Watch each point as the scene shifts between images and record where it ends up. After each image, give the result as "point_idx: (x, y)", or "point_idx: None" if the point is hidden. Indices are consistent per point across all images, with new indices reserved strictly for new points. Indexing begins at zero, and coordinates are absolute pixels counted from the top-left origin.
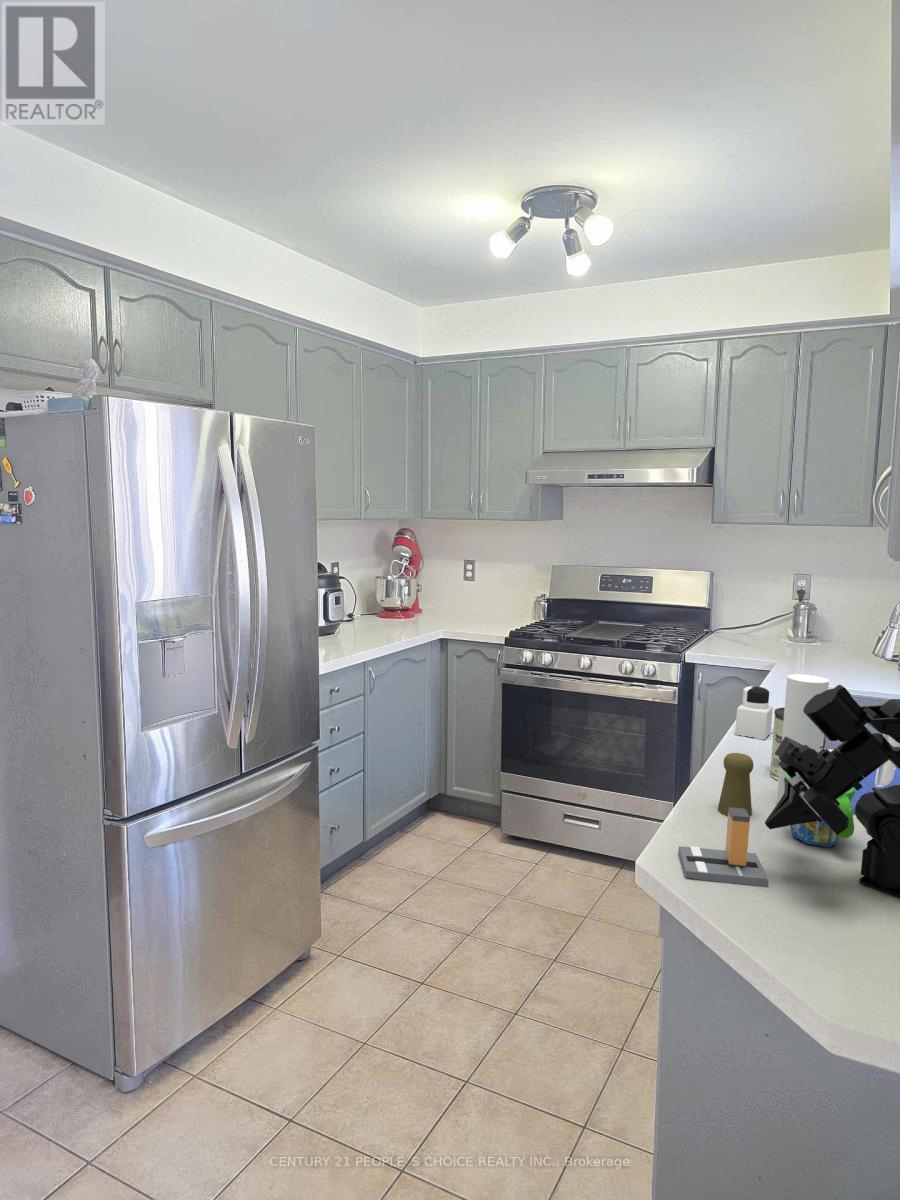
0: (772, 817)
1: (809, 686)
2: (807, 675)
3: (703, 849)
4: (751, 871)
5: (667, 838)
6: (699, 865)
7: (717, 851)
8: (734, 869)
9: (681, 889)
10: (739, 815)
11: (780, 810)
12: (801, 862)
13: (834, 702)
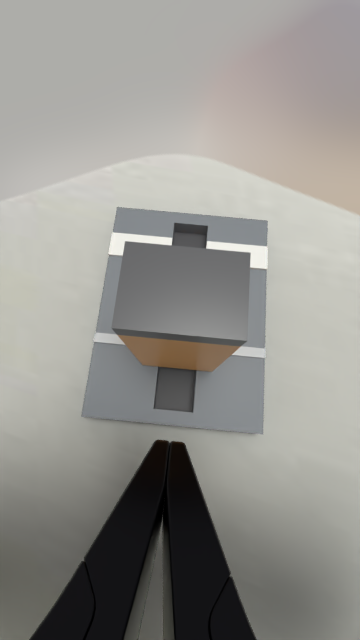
0: (138, 482)
1: None
2: None
3: (259, 279)
4: (129, 378)
5: (350, 224)
6: (146, 242)
7: (252, 315)
8: None
9: (66, 200)
10: (133, 277)
11: (101, 558)
12: (273, 600)
13: None
